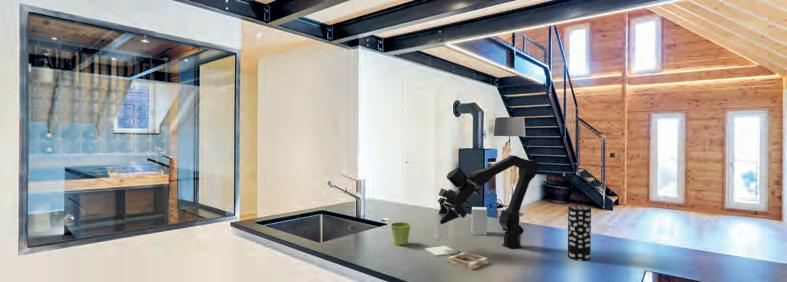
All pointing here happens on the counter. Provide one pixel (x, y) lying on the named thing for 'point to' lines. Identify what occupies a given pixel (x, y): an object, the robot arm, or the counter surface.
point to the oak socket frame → (476, 262)
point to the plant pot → (400, 232)
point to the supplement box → (479, 221)
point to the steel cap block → (440, 228)
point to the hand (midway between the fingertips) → (438, 222)
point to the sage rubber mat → (441, 250)
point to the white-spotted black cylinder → (579, 233)
